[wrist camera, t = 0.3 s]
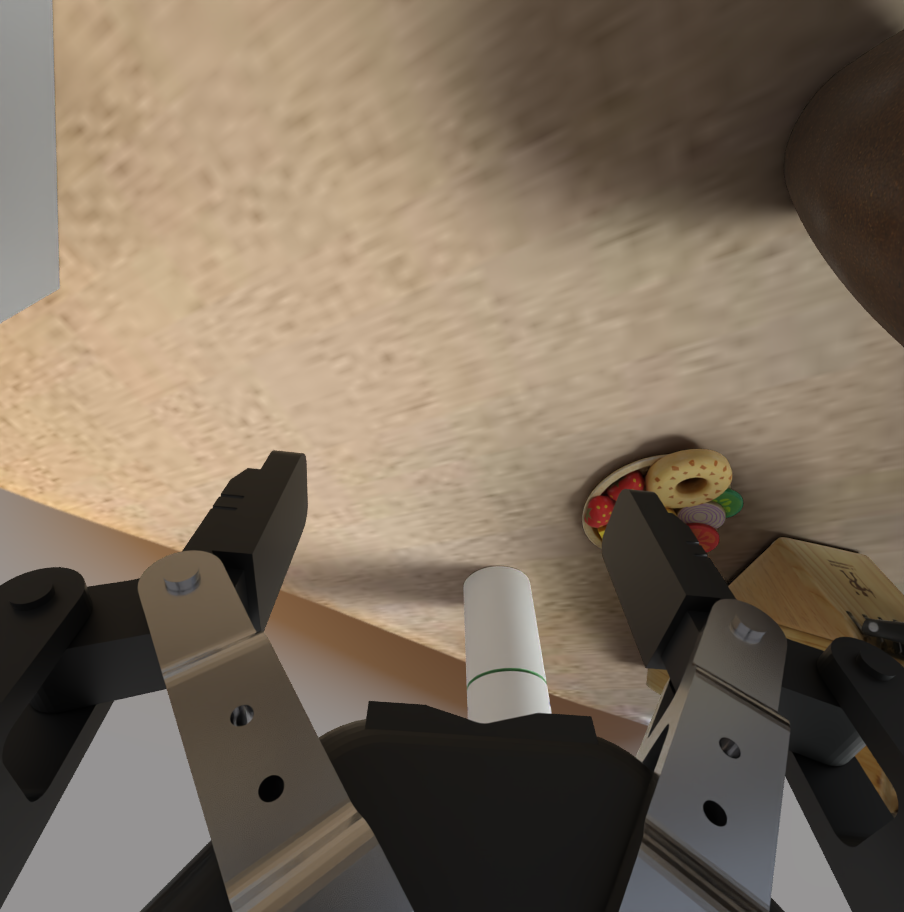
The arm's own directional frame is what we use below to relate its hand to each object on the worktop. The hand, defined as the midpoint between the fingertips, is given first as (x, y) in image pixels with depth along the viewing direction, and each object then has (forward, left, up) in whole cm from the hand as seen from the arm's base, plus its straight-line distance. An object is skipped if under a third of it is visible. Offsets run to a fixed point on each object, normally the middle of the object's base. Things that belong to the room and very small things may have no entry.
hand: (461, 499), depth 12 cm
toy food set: (+12, +26, -23) cm, 37 cm away
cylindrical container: (+29, +19, -23) cm, 42 cm away
